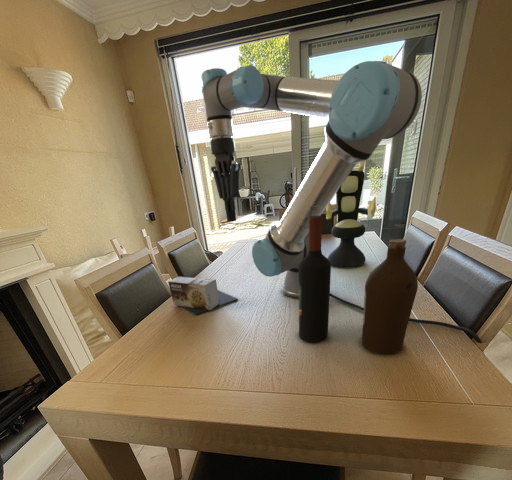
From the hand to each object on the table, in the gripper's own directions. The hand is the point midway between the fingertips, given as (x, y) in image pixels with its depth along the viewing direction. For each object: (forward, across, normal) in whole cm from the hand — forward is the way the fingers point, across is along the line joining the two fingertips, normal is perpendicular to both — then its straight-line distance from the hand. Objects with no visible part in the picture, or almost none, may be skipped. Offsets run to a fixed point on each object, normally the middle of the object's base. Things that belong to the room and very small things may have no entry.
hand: (231, 221), depth 100 cm
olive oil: (+26, +59, -2) cm, 64 cm away
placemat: (+25, -1, -15) cm, 29 cm away
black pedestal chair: (+26, +11, +53) cm, 60 cm away
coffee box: (+21, +6, -16) cm, 27 cm away
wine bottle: (+26, +44, -9) cm, 52 cm away
